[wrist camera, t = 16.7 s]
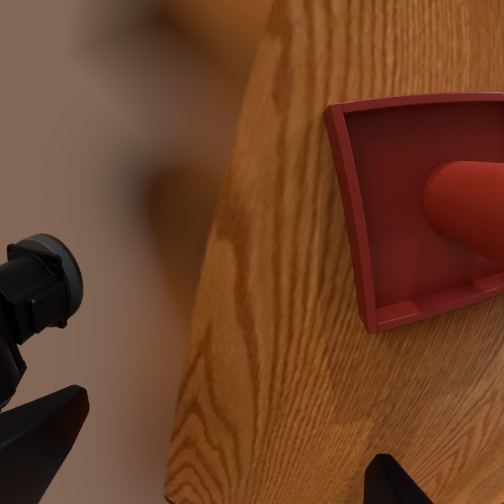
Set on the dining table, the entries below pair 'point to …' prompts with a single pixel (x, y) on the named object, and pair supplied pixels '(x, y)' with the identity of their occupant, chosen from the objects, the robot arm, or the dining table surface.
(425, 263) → the red tray
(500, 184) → the red pin
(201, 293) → the dining table surface
